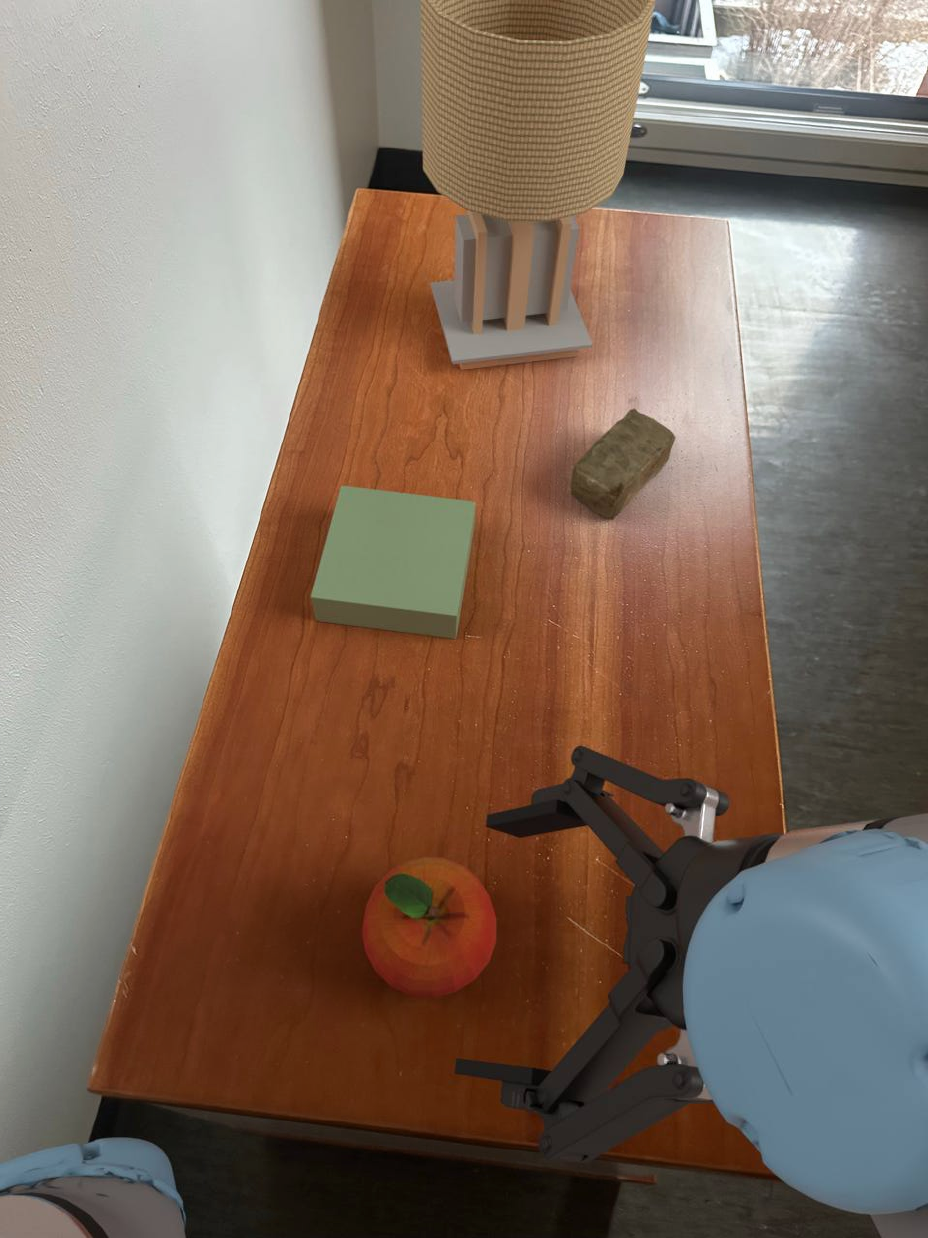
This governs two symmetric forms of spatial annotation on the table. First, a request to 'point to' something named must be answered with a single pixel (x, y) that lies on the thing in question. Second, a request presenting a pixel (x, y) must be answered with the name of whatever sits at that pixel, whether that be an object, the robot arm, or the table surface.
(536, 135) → the desk lamp
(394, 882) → the fruit
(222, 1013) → the table surface
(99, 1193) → the robot arm
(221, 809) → the table surface
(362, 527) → the green block
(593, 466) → the stone block
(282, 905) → the table surface
